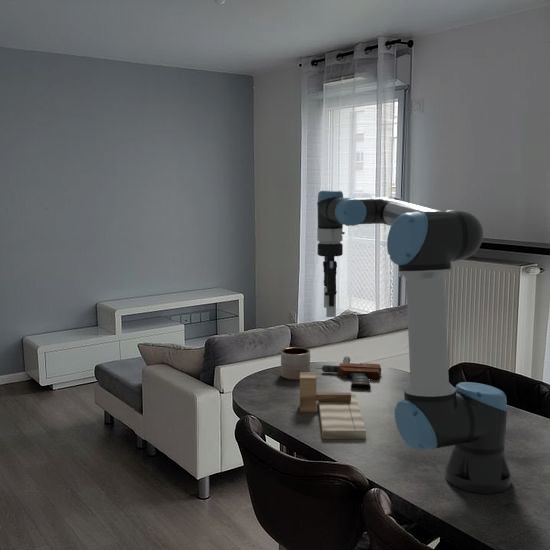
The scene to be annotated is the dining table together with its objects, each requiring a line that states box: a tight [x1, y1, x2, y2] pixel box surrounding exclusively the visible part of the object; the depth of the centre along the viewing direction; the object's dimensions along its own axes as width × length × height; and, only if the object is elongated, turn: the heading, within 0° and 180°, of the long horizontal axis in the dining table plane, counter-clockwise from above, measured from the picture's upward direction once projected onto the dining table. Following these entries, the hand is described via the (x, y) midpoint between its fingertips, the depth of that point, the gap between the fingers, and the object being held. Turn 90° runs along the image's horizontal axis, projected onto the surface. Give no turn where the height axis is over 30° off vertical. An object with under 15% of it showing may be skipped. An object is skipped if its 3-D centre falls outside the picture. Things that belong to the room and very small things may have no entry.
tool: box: [316, 356, 382, 391], centre depth 237 cm, size 4×27×30 cm
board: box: [317, 394, 367, 440], centre depth 195 cm, size 30×12×2 cm, turn 179°
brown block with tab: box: [299, 371, 352, 413], centre depth 203 cm, size 6×16×11 cm, turn 89°
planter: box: [280, 346, 311, 381], centre depth 237 cm, size 11×11×10 cm
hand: (329, 312), depth 196 cm, fingers open, 13 cm apart
